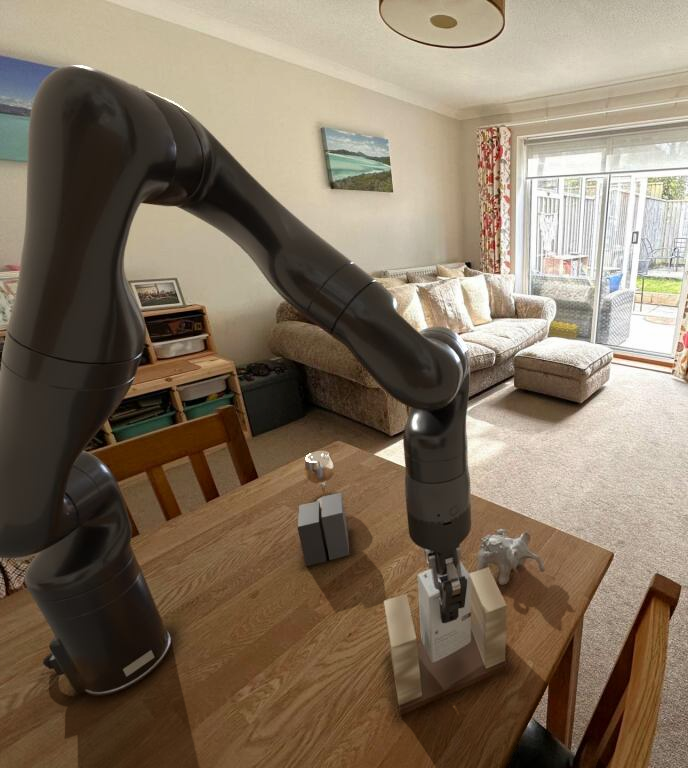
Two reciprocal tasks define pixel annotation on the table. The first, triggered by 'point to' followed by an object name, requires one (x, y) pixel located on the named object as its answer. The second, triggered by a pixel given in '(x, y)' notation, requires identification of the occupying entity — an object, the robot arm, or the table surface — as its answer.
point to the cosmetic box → (433, 632)
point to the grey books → (323, 530)
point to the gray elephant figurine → (505, 553)
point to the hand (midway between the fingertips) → (444, 602)
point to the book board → (457, 670)
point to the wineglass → (319, 469)
